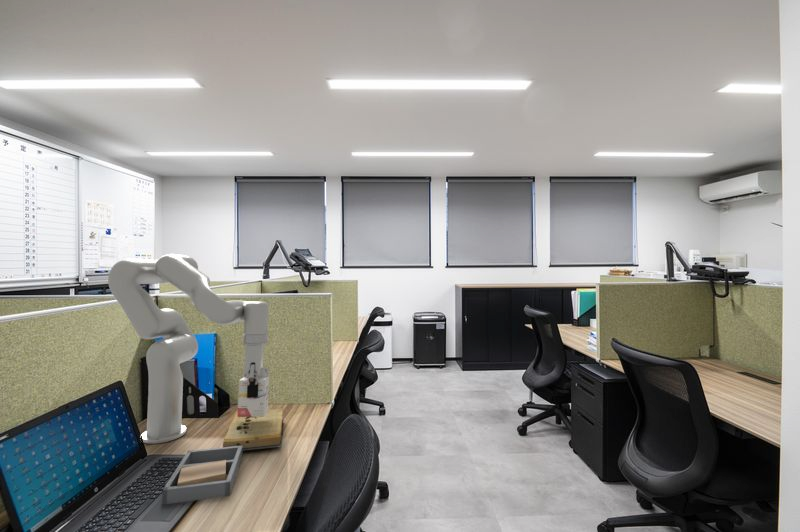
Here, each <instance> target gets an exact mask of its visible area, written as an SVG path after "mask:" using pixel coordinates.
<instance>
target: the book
mask: <svg viewBox="0 0 800 532" xmlns="http://www.w3.org/2000/svg"><path fill="white" fill-rule="evenodd" d="M283 414H284V408H283V406H281V407H280V408H277V409H268V412H267V413H266V415H265V416H264V417H237V416H238V410H236V411H235V414H234V416H233V420H232V421H231V423H230V424H229V427H228V429H227V433H226V435H225V436H224V438H223V442H222V447H232V446H242V445H243V450H242V452H245V451H251V450H252V451H253V450H262V449H270V448H280V447H281V446H282V437H283V436H284V423H283V421H284V419H283V417H284V416H283Z"/></svg>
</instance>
